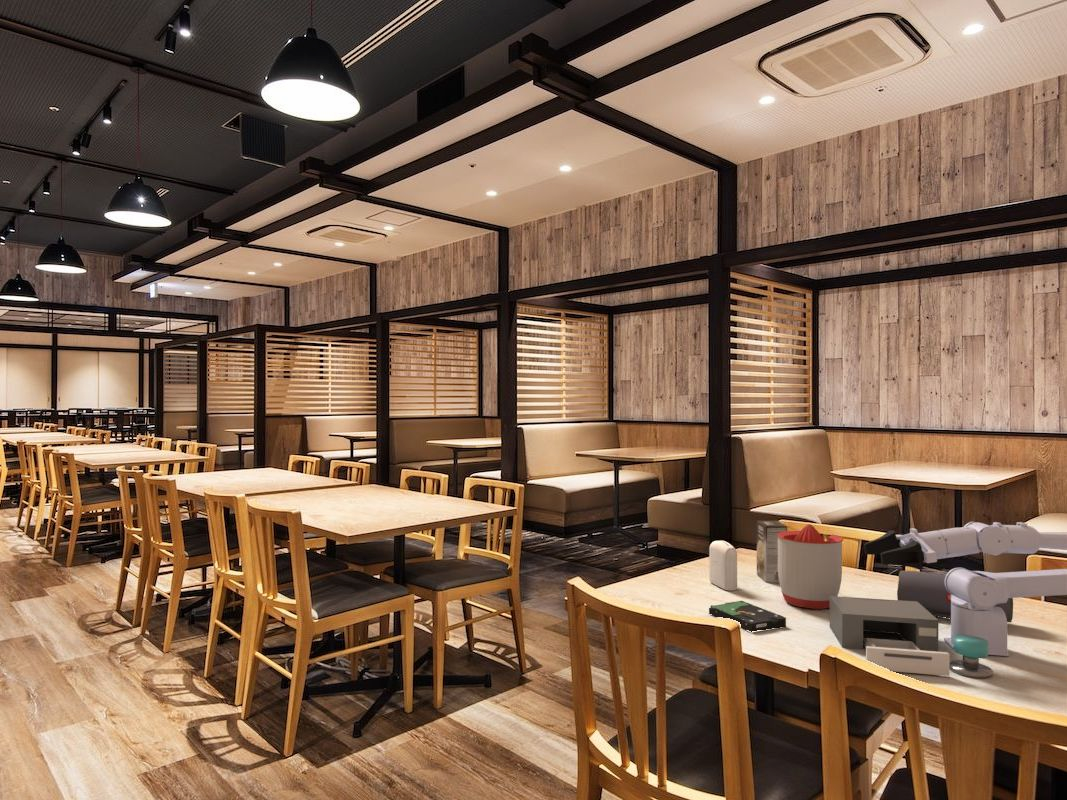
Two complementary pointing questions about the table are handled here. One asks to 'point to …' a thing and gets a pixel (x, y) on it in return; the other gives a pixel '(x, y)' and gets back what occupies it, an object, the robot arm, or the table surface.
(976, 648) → the teal rounded disc
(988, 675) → the spindle stand
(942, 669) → the drawer
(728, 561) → the photo printer
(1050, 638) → the table surface
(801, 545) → the citrus juicer
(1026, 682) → the table surface
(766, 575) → the coffee box
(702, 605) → the table surface
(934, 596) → the bluetooth speaker
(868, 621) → the player cabinet
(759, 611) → the disk drive
